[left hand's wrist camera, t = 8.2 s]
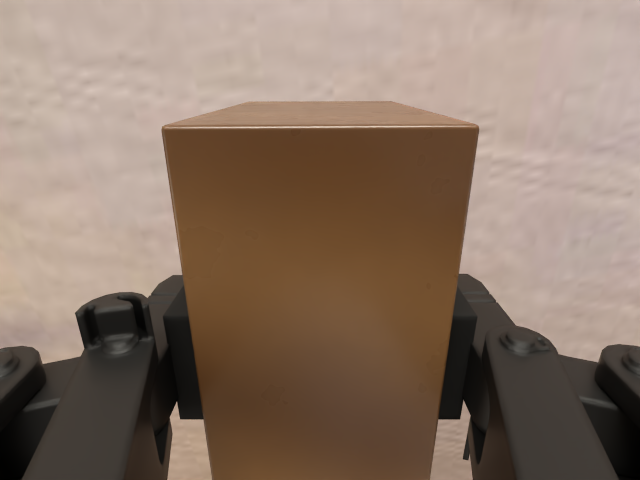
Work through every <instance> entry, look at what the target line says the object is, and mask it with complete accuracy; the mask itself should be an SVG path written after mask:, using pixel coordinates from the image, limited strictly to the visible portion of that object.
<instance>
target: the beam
mask: <svg viewBox="0 0 640 480" xmlns="http://www.w3.org/2000/svg"><path fill="white" fill-rule="evenodd" d="M478 134H479V127H478V125H476V124H472V123H469V122H465V121H461V120H458V119H454V118H450V117H447V116H443V115H439V114H436V113H432V112H428V111H425V110H421V109H417V108H414V107H410V106H406V105H403V104H399V103H395V102H392V101H335V102H246V103H243V104H239V105H235V106H232V107H228V108H225V109H221V110H218V111H214V112H210V113H207V114H203V115H200V116H196V117H192V118H189V119H185V120H182V121H178V122H175V123H171V124H167V125H165V126H162V137H163V144H164V151H165V157H166V164H167V171H168V178H169V185H170V192H171V199H172V206H173V212H174V219H175V226H176V233H177V240H178V247H179V254H180V261H181V267H182V274H183V281H184V288H185V295H186V302H187V309H188V316H189V322H190V329H191V336H192V343H193V350H194V357H195V364H196V371H197V377H198V384H199V391H200V398H201V405H202V412H203V419H204V426H205V432H206V439H207V446H208V453H209V460H210V467H211V474H212V480H430V473H431V466H432V459H433V452H434V445H435V438H436V431H437V424H438V417H439V410H440V403H441V396H442V389H443V382H444V374H445V367H446V360H447V353H448V346H449V339H450V332H451V325H452V318H453V311H454V304H455V297H456V290H457V283H458V275H459V268H460V261H461V254H462V247H463V240H464V233H465V226H466V219H467V212H468V205H469V198H470V191H471V184H472V176H473V169H474V162H475V155H476V148H477V141H478Z"/></svg>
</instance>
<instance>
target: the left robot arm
mask: <svg viewBox="0 0 640 480" xmlns="http://www.w3.org/2000/svg"><path fill="white" fill-rule="evenodd" d="M75 314H76V318H77V322H78V326H79V329H80V333H81V337H82V341H83V344H84V348H85V349H84V351H83V353H82V355H81V356H80V357H76V358H72V359H67V360H62V361H57V362H52V363H47V364H42V361H41V358H40V354H39V352H38V351H37V350H35V349H34V348H33V347H25V346H17V347H7V348H2V349H0V480H167V476H168V468H169V459H170V450H171V442H172V428H171V422H170V415H171V413H172V411H173V409H174V406H175V404H176V402H177V403H178V409H179V415H180V419H203V412H202V405H201V398H200V391H199V384H198V377H197V371H196V364H195V357H194V350H193V343H192V336H191V329H190V322H189V316H188V309H187V302H186V295H185V288H184V281H183V275H173V276H171V277H169V278H168V279H166V280H165V281H163V282H161V283H160V284H159V285H158V286H157V287H156V288H155V290H154V291H153V292H152V293H151V296H149V297H148V298H146V297H145V296H144V295H142V294H138V293H134V292H119V293H114V294H109V295H105V296H102V297H99V298H96V299H94V300H92V301H90V302H88V303H86V304H85V305H83V306H81V308H80V309H79V310H78V311H77V312H76V313H75ZM463 399H464V401H465V404H466V406H467V408H468V410H469V413H470V415H471V417H470V422H469V428H468V433H467V439H466V444H465V449H464V455H463V459H464V460H468V459H469V454H470V458H471V467H472V475H473V480H640V347H638V346H631V345H621V344H617V345H610V346H607V347H606V348H604V349H603V350H602V352H601V355H600V359H599V362H593V361H587V360H582V359H577V358H572V357H567V356H563V355H559V354H558V352H557V350H556V348H555V347H554V346H553V344H552V343H551V342H550V341H549V340H548V339H547V338H545V337H544V336H542V335H541V334H539V333H537V332H535V331H532V330H530V329H527V328H524V327H519V326H516V325H515V324H514V323H513V321H512V320H511V319H510V318H509V316H508V315H507V314H506V313H505V311H504V310H503V309H502V308H501V306H500V305H499V304H498V303H496V300H495V299H494V298H493V296H492V295H491V294H489V291H488V290H487V289H486V288H485V286H484V285H483V284H482V283H481V282H480V281H478V280H476V279H475V278H473V277H471V276H470V275H468V274H459V275H458V283H457V290H456V297H455V304H454V311H453V318H452V325H451V332H450V339H449V346H448V353H447V360H446V367H445V374H444V382H443V389H442V396H441V403H440V410H439V417H438V419H460V416H461V410H462V405H463Z"/></svg>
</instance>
